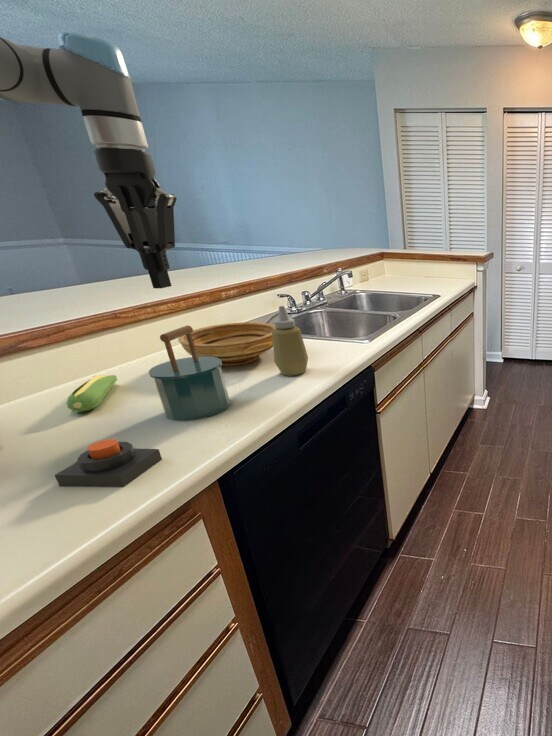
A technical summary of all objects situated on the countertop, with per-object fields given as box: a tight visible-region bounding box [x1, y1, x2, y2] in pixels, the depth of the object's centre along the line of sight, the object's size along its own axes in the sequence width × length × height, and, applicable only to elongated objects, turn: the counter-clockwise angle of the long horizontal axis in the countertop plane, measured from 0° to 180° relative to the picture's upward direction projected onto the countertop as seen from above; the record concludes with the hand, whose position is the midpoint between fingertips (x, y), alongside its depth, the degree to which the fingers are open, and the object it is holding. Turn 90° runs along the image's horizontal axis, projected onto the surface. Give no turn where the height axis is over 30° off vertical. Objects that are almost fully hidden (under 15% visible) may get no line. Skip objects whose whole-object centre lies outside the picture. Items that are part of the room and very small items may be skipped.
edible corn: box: [66, 374, 118, 413], centre depth 95 cm, size 5×20×5 cm, turn 27°
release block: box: [54, 441, 163, 488], centre depth 69 cm, size 10×8×4 cm
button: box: [87, 438, 121, 459], centre depth 68 cm, size 4×4×2 cm
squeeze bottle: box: [272, 305, 309, 377], centre depth 110 cm, size 8×8×18 cm
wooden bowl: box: [177, 321, 276, 366], centre depth 121 cm, size 30×24×8 cm
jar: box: [152, 366, 231, 422], centre depth 90 cm, size 11×11×10 cm
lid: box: [148, 325, 223, 379], centre depth 87 cm, size 12×12×9 cm
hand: (162, 287), depth 82 cm, fingers closed
